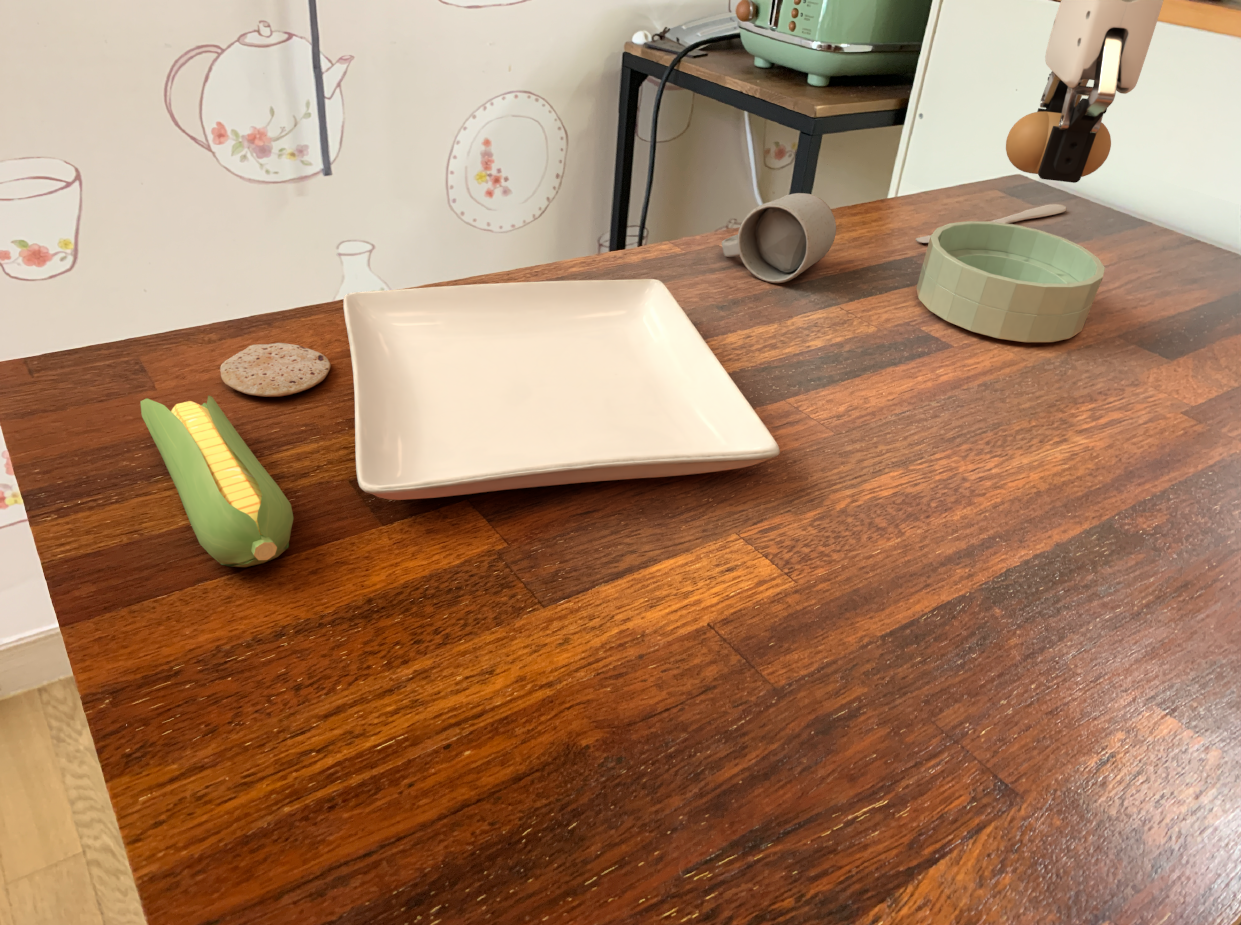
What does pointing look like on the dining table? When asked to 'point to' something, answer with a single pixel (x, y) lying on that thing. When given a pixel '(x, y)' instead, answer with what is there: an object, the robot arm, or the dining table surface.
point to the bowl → (1009, 281)
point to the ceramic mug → (783, 237)
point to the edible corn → (220, 483)
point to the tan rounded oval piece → (1033, 137)
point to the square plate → (538, 389)
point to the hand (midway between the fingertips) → (1050, 167)
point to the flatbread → (274, 369)
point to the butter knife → (1020, 216)
